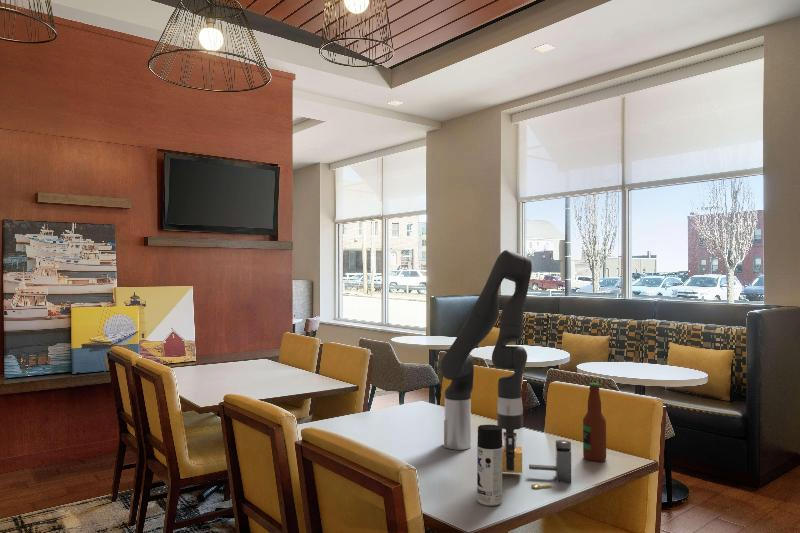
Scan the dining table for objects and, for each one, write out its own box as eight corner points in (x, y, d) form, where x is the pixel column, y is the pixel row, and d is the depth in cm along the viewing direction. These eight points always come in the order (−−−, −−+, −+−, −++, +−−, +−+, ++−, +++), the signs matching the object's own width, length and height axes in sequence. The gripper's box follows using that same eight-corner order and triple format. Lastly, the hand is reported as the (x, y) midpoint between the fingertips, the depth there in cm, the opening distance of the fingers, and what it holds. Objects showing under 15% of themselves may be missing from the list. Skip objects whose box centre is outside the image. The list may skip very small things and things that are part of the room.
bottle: (589, 454, 197) (589, 380, 198) (610, 458, 192) (609, 383, 192) (579, 458, 192) (578, 383, 192) (599, 463, 187) (599, 386, 187)
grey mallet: (529, 480, 171) (529, 442, 172) (528, 473, 177) (528, 437, 178) (572, 482, 169) (571, 445, 169) (569, 476, 175) (569, 439, 175)
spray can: (474, 497, 158) (474, 424, 158) (499, 496, 158) (498, 423, 159) (480, 507, 151) (480, 430, 152) (505, 506, 152) (505, 430, 152)
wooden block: (498, 471, 173) (498, 451, 173) (498, 465, 179) (498, 445, 180) (522, 473, 172) (522, 452, 172) (521, 466, 178) (521, 446, 178)
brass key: (533, 489, 164) (533, 487, 164) (530, 486, 166) (530, 484, 166) (552, 488, 165) (552, 486, 165) (549, 485, 167) (549, 483, 167)
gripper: (523, 417, 168) (523, 475, 168) (521, 406, 182) (521, 459, 182) (497, 416, 170) (497, 473, 169) (497, 405, 184) (497, 458, 183)
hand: (510, 466), depth 176 cm, fingers closed on wooden block, 6 cm apart
